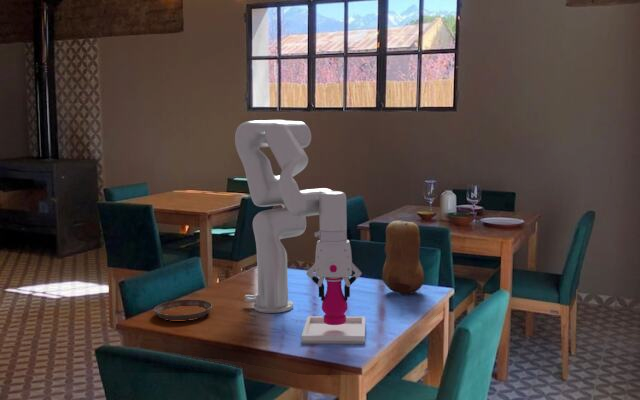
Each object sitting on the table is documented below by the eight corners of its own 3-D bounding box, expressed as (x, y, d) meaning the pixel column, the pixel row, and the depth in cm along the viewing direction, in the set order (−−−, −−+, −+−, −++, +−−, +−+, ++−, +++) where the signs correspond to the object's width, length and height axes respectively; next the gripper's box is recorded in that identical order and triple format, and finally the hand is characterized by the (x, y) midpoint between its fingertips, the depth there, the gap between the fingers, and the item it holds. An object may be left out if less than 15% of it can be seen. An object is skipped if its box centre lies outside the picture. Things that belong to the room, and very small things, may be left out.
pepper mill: (345, 326, 183) (344, 255, 181) (319, 325, 185) (318, 254, 182) (349, 318, 190) (348, 249, 188) (324, 317, 192) (323, 249, 189)
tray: (301, 343, 180) (301, 335, 180) (307, 323, 197) (307, 316, 197) (364, 344, 179) (364, 336, 179) (365, 323, 196) (365, 316, 196)
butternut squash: (420, 287, 234) (421, 217, 231) (426, 298, 221) (426, 223, 218) (381, 288, 235) (380, 217, 231) (384, 298, 221) (383, 224, 218)
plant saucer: (168, 306, 218) (167, 297, 217) (220, 308, 215) (219, 299, 214) (144, 323, 201) (144, 313, 200) (201, 326, 198) (200, 316, 197)
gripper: (300, 238, 181) (302, 303, 184) (364, 238, 180) (365, 303, 182) (303, 233, 189) (305, 295, 191) (364, 233, 187) (365, 295, 190)
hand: (334, 298), depth 187 cm, fingers closed on pepper mill, 5 cm apart
